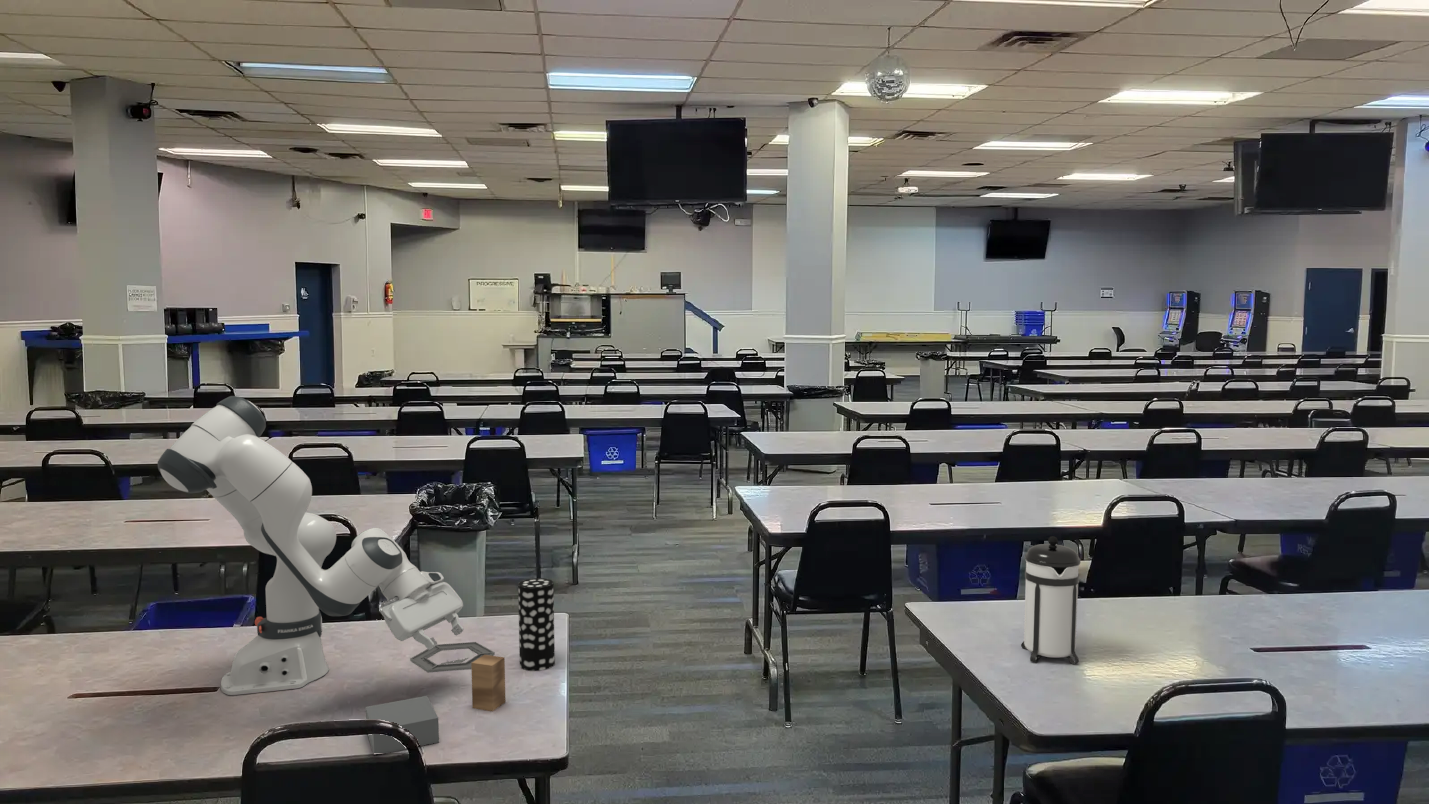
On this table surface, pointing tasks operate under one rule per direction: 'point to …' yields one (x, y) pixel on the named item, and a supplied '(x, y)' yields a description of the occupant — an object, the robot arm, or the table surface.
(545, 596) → the spotted tube
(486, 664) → the oak block
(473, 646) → the grey hexagonal ring
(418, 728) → the block
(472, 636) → the table surface
